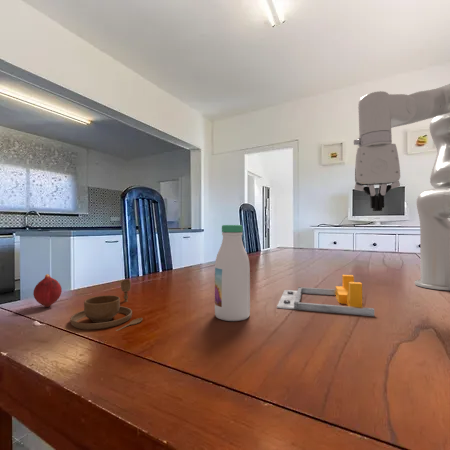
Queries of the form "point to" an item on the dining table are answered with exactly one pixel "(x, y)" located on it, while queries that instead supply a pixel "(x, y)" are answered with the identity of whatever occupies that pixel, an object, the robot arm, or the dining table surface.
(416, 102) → the robot arm
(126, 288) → the place setting
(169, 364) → the dining table surface
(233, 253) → the milk bottle
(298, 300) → the hinge bracket
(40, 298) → the onion
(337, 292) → the pipe clamp
